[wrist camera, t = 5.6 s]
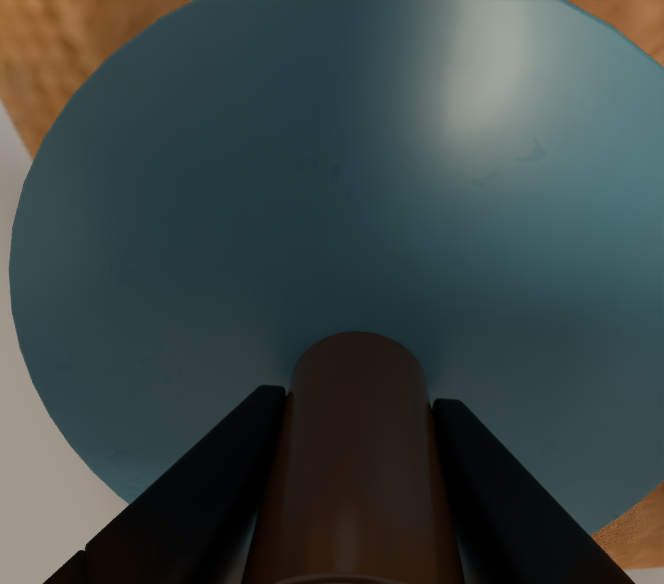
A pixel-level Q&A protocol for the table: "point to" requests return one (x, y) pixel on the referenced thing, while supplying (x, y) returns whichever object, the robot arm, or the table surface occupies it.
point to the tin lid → (356, 263)
